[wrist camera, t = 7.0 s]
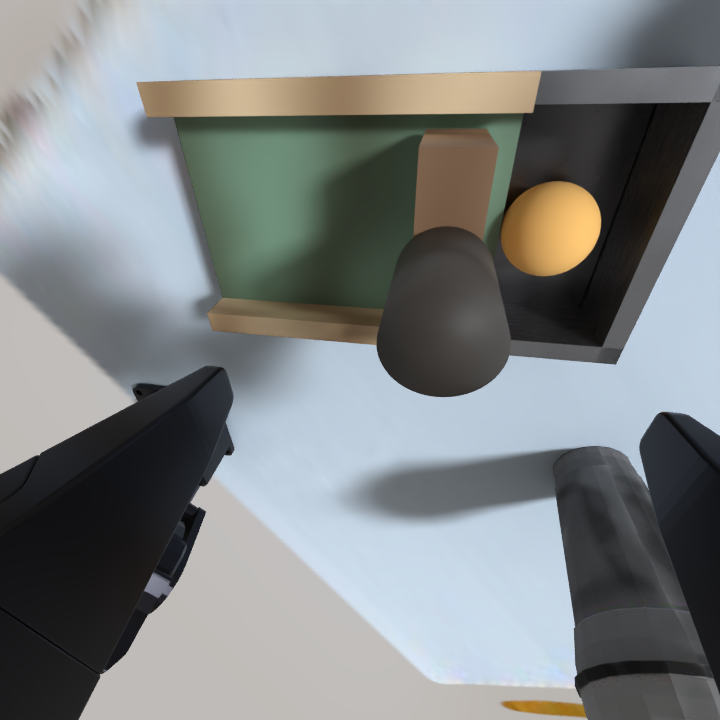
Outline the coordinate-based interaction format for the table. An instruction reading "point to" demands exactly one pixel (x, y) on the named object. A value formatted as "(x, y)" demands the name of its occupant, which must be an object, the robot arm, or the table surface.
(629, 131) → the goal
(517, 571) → the table surface
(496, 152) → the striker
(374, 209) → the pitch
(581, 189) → the ball
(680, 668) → the beverage cup
